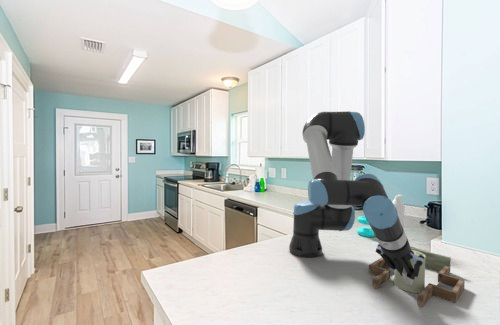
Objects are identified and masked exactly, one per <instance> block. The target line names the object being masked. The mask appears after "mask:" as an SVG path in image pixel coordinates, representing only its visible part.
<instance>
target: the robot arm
mask: <svg viewBox="0 0 500 325" xmlns="http://www.w3.org/2000/svg"><path fill="white" fill-rule="evenodd" d="M302 128H303V129H302V138H303V141H304V143H305V144H306V146H307V152H308V157H309V158H308V159H309V164H310V170H311V175H312V179H310V180H309V182H308V185H307V194H308V195H307V196H308V200H304V201H299V202H297V203H295V204H294V206H293V213H292V214H293V229H292V230H293V231H292V235H291V236H292V237H291V239H290V243H289V247H288V252H290V253H291V254H293V255H295V256H298V257H303V258H317V257H319V256H322V254H323V247H322V242H321V239H320V236H319V232H320V231H334V232H335V231H337V232H346V231H347V232H348V231H349V230H351V229H353V227H354V224H355V220H356V215H355V214H356V210H355V208H354V207H355V206H357V207H358V206H359V207H361V208H362V210H363V216H365V218H366V220H367V221H368V223H369V225H368V226H370V227H369V228H371V229H372V230H373V232H374V235H375V236H374V237H375V238H376V241H377V243H378V244H377V246H376V249H375V253H377V255H379V256H380V258H381V257H382V258H383V259H384V260H385V261H386V263H387V264H388V265H389V266H390V267H391V268H392V269H394V270H395V269H397V271H398V272H399V273H400V275H401V276H403V277H404V279H405V282H406V284H409V285H411V286H412V285H413V281H414V278H415V276H416V277H418V274H419V271H420V266H421V265H422V264H423V260H424V256H422V255H419V256H417V255H415V254H414V252H413V251H412V250H411V249H410V248H411V244H410V242H409V239H408V237H407V233H406V231H405V228H404V229H403V227H402V225H401V222H400V219H399V217H398V214H397V213H398V212H397V209H396V208H395V206H394V204H393V202H392V201H393V200H391V199H390V197H388V194H387V191H386V190H385V188H384V185H383V184H382V183H381V180H380V179H379V178H378V177H377V176H376V175H374V174H373V173H364V174H362V175H359V176H357V177H356V178H355V179H354V180H351V176H352V167H353V166H352V164H353V158H354V157H353V155H354V148H356V147H357V146H358V144H359V141H361V140H364V138H365V132H366V127H365V121H364V117H363V116H362V114H361V113H360V112H358V111H357V112H356V111H320V112H318V113H315V114H313V115H311V117H309V119H307V120H306V122H305V123H304V125H303V127H302ZM328 140H329V141H328ZM329 145H330V146H331V147H332V148H331V151H330V146H329ZM412 258H413V261H414V263H415V265H414V268H413V266H412V264H411V261H410V259H412Z"/></svg>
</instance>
